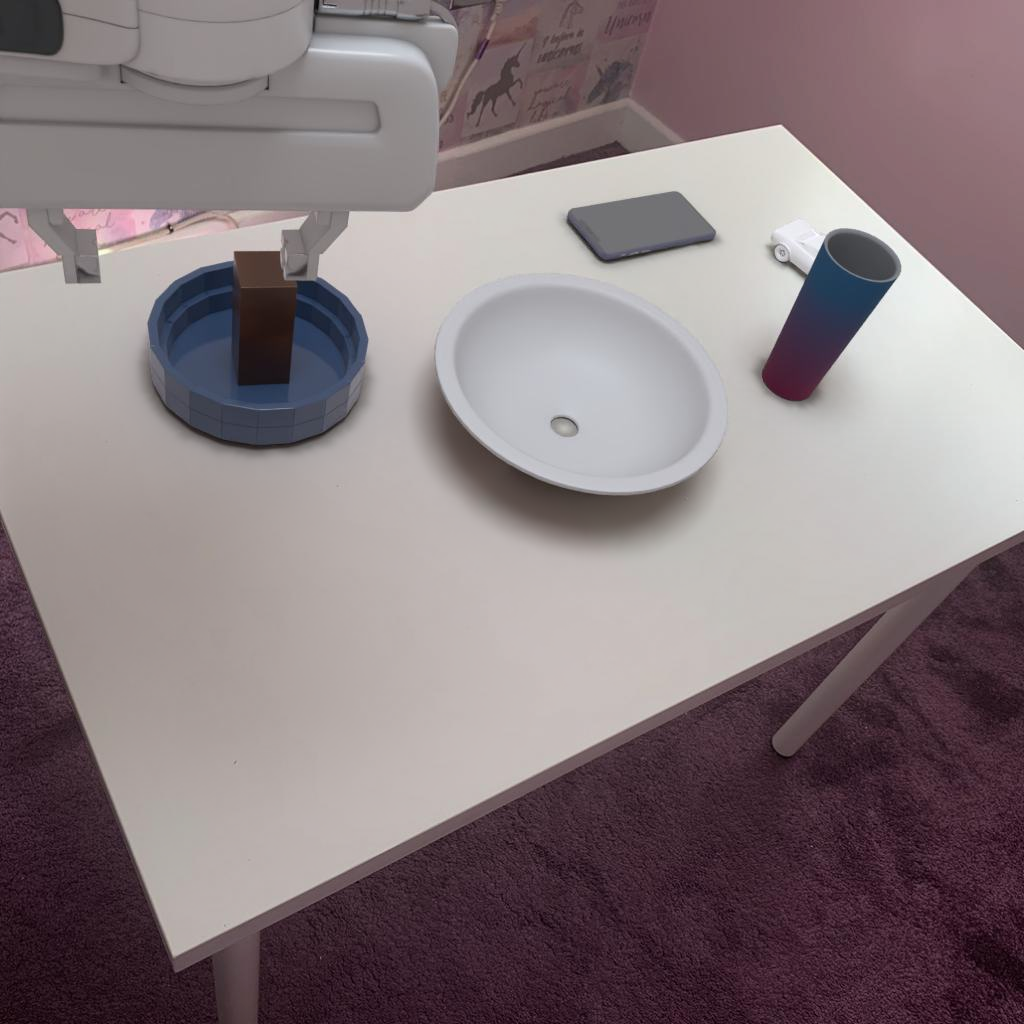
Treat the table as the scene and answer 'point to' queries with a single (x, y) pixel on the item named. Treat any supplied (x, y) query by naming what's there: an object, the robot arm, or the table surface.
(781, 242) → the toy car
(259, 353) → the block
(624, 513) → the table surface
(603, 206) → the smartphone
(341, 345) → the bowl
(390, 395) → the table surface
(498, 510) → the table surface
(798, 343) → the cup
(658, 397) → the white sink basin
